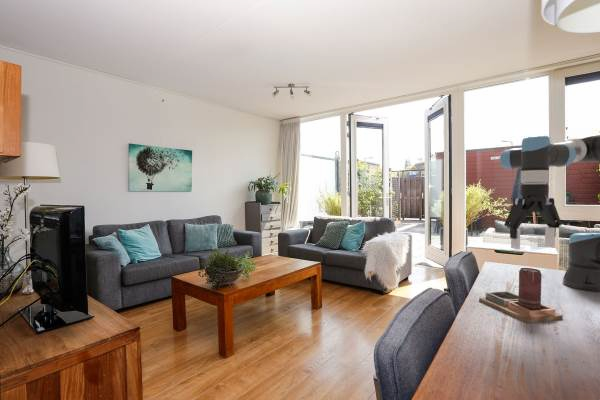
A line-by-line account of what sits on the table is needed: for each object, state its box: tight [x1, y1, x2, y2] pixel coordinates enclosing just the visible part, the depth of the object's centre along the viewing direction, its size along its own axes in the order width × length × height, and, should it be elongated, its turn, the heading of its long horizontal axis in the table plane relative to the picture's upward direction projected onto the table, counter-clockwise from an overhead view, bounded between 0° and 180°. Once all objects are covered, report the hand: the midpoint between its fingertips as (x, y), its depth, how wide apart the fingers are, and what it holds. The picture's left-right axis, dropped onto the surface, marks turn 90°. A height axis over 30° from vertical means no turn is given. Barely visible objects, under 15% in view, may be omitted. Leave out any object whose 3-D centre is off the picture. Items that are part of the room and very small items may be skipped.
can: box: [518, 267, 543, 310], centre depth 108 cm, size 6×6×14 cm
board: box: [478, 290, 564, 324], centre depth 113 cm, size 14×20×3 cm
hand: (532, 247), depth 107 cm, fingers open, 13 cm apart
